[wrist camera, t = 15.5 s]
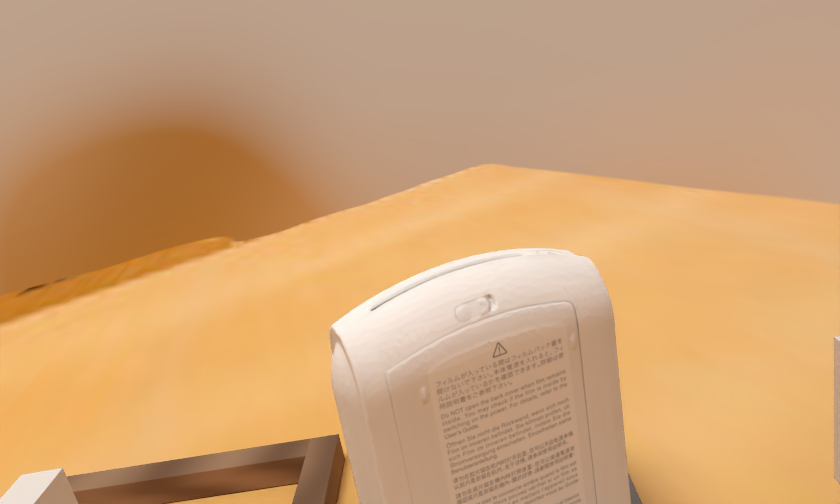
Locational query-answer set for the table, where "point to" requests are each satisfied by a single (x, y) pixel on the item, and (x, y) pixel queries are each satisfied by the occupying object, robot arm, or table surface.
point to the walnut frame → (222, 475)
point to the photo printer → (484, 385)
